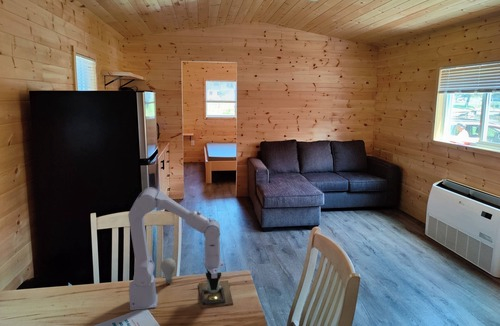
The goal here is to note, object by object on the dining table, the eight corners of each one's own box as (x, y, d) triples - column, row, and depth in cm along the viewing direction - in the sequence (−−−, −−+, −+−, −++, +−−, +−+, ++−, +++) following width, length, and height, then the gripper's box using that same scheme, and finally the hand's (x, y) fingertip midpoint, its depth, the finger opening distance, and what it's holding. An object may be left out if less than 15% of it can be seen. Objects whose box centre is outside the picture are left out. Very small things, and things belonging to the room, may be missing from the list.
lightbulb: (168, 289, 145) (167, 264, 142) (158, 284, 148) (157, 259, 146) (179, 282, 149) (178, 258, 147) (170, 277, 153) (168, 254, 151)
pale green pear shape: (205, 293, 135) (205, 281, 134) (205, 286, 139) (204, 274, 138) (221, 292, 136) (221, 280, 135) (220, 285, 140) (220, 273, 139)
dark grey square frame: (202, 305, 134) (202, 302, 133) (201, 292, 142) (201, 289, 141) (225, 302, 135) (225, 299, 135) (222, 290, 143) (222, 287, 143)
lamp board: (200, 308, 133) (200, 306, 133) (198, 284, 148) (198, 283, 148) (233, 304, 135) (233, 303, 135) (227, 281, 150) (227, 280, 150)
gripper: (225, 261, 128) (225, 295, 131) (221, 243, 142) (221, 274, 145) (205, 262, 127) (206, 297, 130) (203, 244, 141) (203, 276, 144)
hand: (213, 285), depth 137 cm, fingers closed on pale green pear shape, 5 cm apart
